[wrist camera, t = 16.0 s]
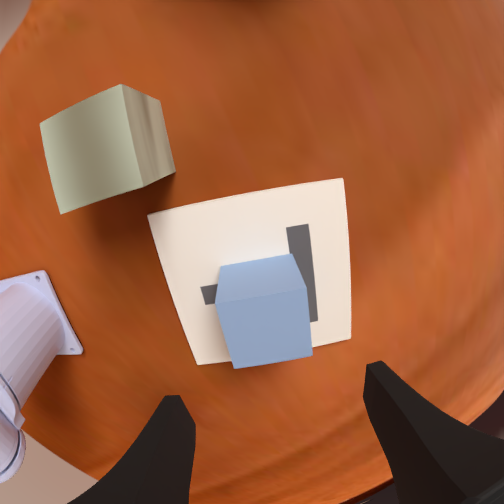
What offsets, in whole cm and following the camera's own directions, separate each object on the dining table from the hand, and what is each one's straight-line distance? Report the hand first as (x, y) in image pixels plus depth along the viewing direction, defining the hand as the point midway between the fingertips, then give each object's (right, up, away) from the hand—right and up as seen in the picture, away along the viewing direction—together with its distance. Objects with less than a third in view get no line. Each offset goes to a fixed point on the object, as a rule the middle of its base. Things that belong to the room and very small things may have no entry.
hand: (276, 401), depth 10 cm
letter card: (0, +4, +9) cm, 10 cm away
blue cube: (0, +3, +9) cm, 10 cm away
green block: (-8, +12, +6) cm, 16 cm away
